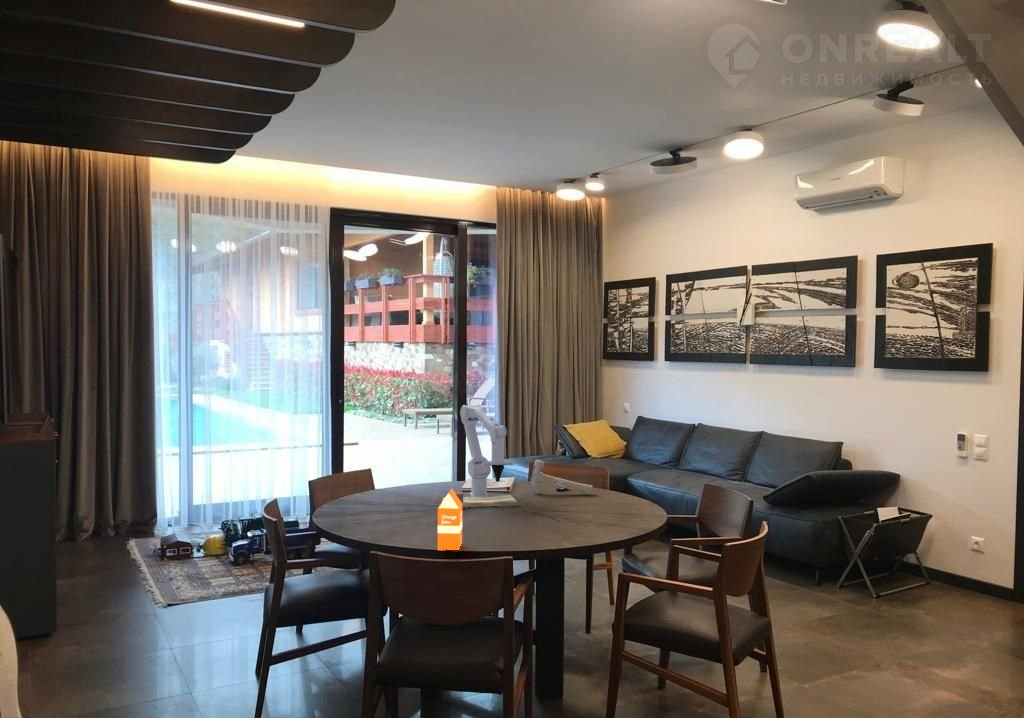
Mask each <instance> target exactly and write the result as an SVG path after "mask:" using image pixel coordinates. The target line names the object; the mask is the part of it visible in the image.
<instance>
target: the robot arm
mask: <svg viewBox="0 0 1024 718" xmlns="http://www.w3.org/2000/svg"><path fill="white" fill-rule="evenodd" d="M459 411H460V412H459V415H460V420H461V424H463V426H464V431H465V436H466V441H467V443H468V445H467V446H468V447H469V452H470V457H471V458H470V460H469V461H468V462H467V467H468V468H467V472H468V475H469V476H470V478H471V484H470V485H471V492H469V495H470V497H472V496H490V495H489V494H488V492H487V491H488V479H487V478H489V476H490V474H491V472H492V471H493V474H494V477H495V482H496V483H499V482H500V480H501V477H502V474H503V471H504V469H505V466H515V465H514V460H505V438H506V436H507V434H508V429H507V428H506V426H505V425H504V424H502V425H501V424H499V423H498V422H497V421H496V420H495V419H494V417H492V416H491V417H489V416H488V415H487V414H486V413H485V412H484V407H483V406H482V404H481V405H480V404H475V405H473V404H472V405H466V404H463V405H461V408H460V410H459ZM479 422H482V425H483V428H484V429H485V430H487V432H488V433H489V434H488V435H489V437H490V442H491V460H488V458H487V457H485V456H483V453H482V449H481V445H480V444H481V443H480V440H479V437H478V432H477V429H476V428H477V427H476V425H477V424H479ZM491 470H492V471H491Z"/></svg>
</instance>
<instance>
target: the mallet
mask: <svg viewBox="0 0 1024 718" xmlns="http://www.w3.org/2000/svg"><path fill="white" fill-rule="evenodd" d="M453 491H454V492H455V494H456V495H457V497H458V498H459V500H460V501H461V503H463V497H464V493H463V491H456V490H453Z"/></svg>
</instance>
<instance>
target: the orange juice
mask: <svg viewBox="0 0 1024 718" xmlns="http://www.w3.org/2000/svg"><path fill="white" fill-rule="evenodd" d="M454 491H455V490H454V489H453V488H451V489H450V490H449V491H448V493H447V495H446V496H444V497H445V499H444V500H443V502H441V503H440V504H439V506H438V507H437V551H445V550H446V549H447V550H459V549H460V550H461V548H460V546H461V547H462V545H463V508H462V503H461V501H460V500H459V498H458V497H457V495H456V494H455V492H454ZM461 544H462V545H461ZM443 549H444V550H443ZM460 550H459V551H460Z"/></svg>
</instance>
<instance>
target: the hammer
mask: <svg viewBox="0 0 1024 718" xmlns="http://www.w3.org/2000/svg"><path fill="white" fill-rule="evenodd" d="M544 465H545V462H544V461H543V460H540V459H536V460H535V462H534V465H533V466H534V469H533V471H532V474H531V477H530V483H531V488H532V489H533V491H534V492H535V493H536V494H537V495H539V493H538V492H539V490H538V488H537V485H538V484H537V483H538V482H539V483H548V484H552V485H555V486H556V487H557V486H558V487H561V488H564V489H566V490H570V491H573V492H578V493H581V494H584V495H587V496H591V495H592V492H593V488H594V487H593V485H591V484H587V483H579V482H577V481H571V480H568V479H566V478H565V479H564V478H562V477H556V476H552V475H549V474H544V472H542V471H541V470H542V469H543V468H544Z"/></svg>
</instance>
